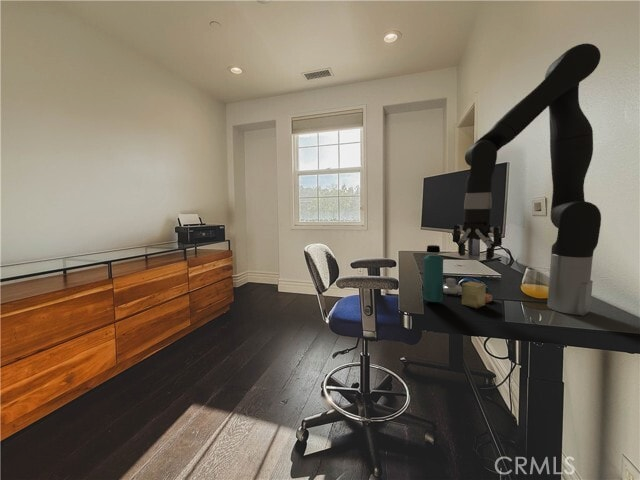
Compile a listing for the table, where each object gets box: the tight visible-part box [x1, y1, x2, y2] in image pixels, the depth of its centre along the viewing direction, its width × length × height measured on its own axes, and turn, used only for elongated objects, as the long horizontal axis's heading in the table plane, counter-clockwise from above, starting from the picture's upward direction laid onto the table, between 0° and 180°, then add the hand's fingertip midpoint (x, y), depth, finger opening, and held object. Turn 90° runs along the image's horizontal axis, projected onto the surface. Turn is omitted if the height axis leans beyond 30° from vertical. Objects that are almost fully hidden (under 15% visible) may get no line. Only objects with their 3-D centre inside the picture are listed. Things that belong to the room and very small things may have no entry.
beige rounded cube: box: [461, 281, 487, 309], centre depth 89 cm, size 5×5×7 cm
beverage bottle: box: [422, 244, 445, 303], centre depth 91 cm, size 6×7×20 cm
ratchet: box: [443, 277, 493, 304], centre depth 99 cm, size 18×8×5 cm, turn 33°
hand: (474, 257), depth 88 cm, fingers open, 8 cm apart
